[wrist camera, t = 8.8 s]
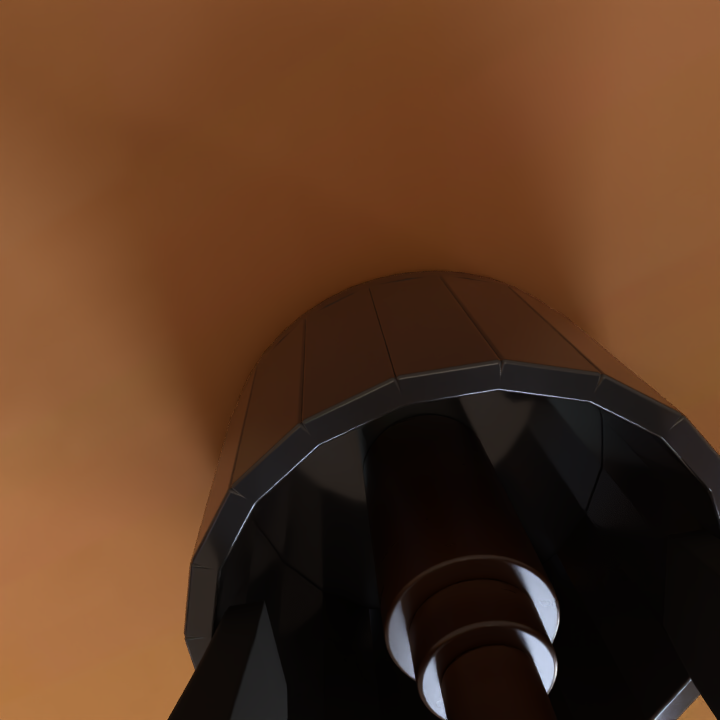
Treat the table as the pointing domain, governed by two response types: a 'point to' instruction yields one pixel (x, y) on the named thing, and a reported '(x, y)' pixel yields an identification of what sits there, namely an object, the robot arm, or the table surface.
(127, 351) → the table surface
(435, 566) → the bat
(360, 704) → the brown round cylinder
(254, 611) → the robot arm
